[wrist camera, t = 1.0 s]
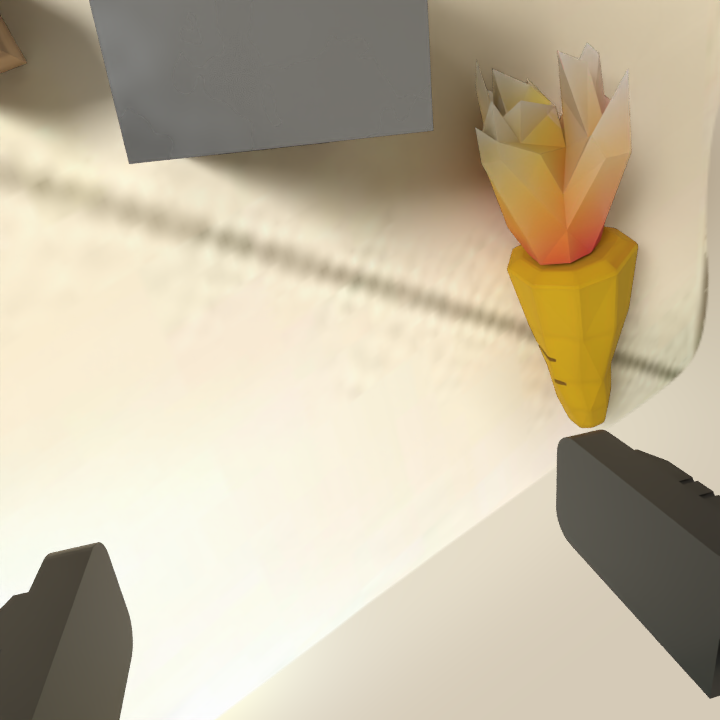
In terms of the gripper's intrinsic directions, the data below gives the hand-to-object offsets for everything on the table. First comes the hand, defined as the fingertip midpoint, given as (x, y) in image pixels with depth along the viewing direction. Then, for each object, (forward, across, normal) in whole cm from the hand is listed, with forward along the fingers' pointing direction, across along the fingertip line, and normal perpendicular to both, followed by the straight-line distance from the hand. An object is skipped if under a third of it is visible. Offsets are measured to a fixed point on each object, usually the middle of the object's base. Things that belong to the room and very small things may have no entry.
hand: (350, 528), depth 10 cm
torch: (+27, -18, +2) cm, 32 cm away
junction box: (+26, -1, -11) cm, 28 cm away
